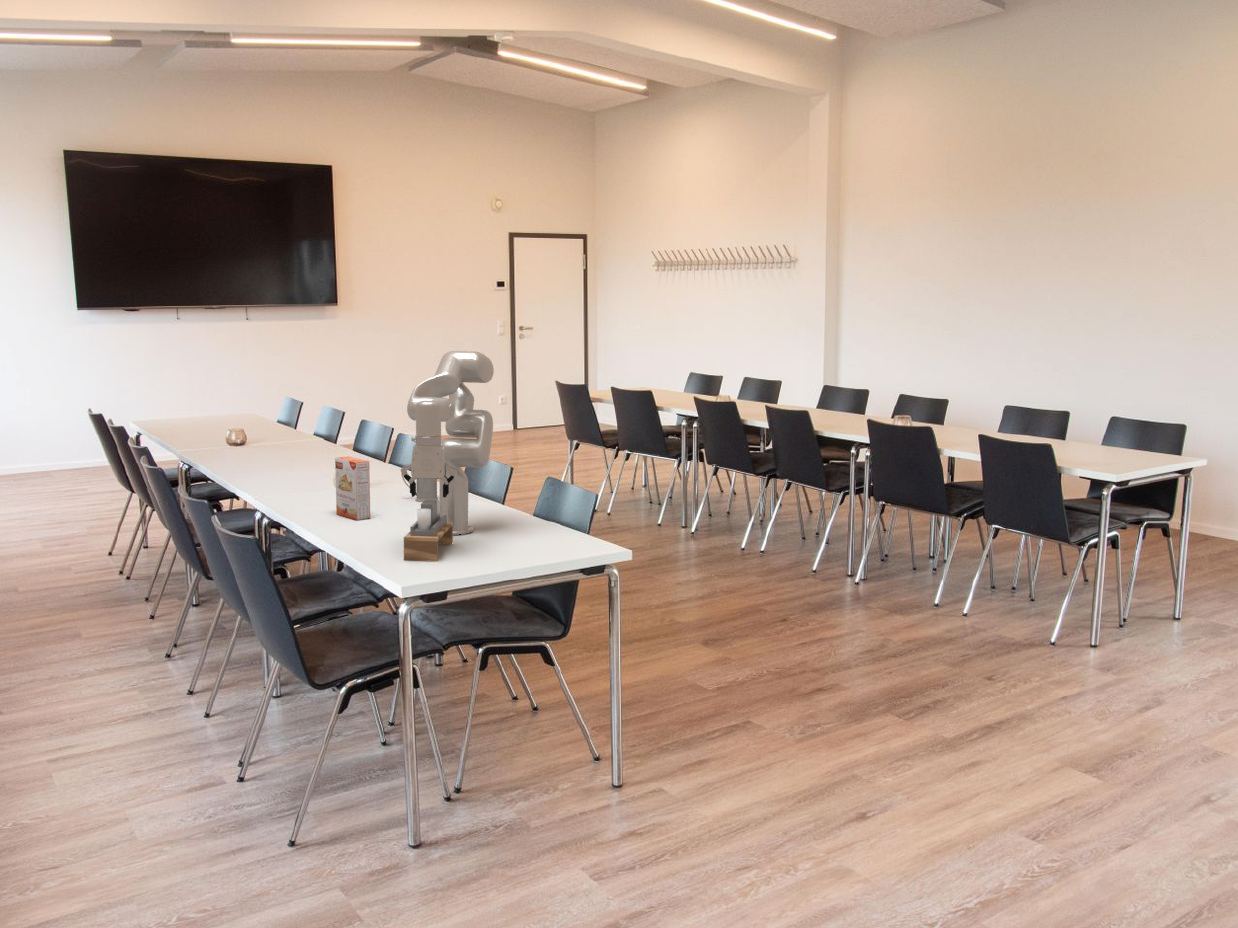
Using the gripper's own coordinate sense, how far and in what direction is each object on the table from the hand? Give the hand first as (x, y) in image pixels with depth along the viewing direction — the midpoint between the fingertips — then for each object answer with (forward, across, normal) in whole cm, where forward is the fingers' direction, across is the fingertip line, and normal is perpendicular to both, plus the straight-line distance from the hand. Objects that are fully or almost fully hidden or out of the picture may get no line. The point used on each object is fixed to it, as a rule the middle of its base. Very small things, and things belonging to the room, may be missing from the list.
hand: (429, 496), depth 326 cm
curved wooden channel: (+17, 0, -1) cm, 17 cm away
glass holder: (+20, -22, +85) cm, 90 cm away
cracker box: (+19, -38, +49) cm, 65 cm away
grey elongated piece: (+10, 0, -1) cm, 10 cm away
